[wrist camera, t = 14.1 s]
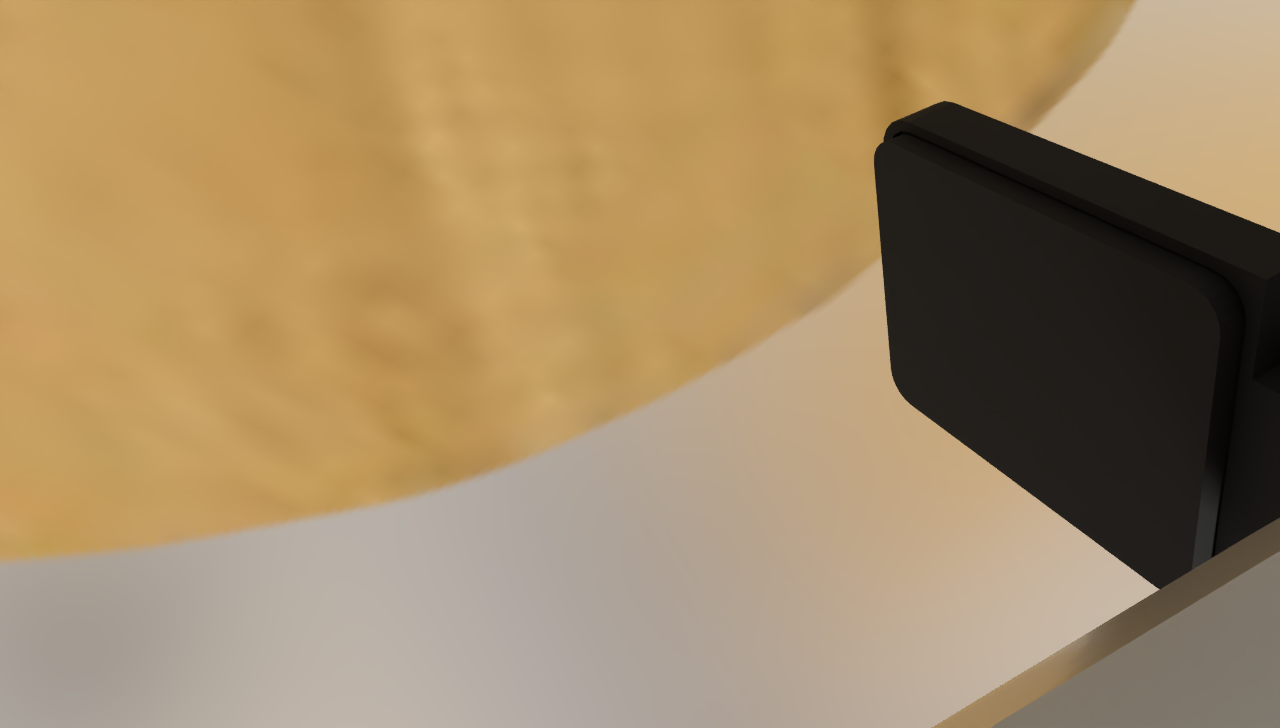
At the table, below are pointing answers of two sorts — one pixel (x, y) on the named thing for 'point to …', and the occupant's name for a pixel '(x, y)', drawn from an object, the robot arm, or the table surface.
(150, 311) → the table surface
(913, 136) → the robot arm
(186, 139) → the table surface
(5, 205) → the table surface
